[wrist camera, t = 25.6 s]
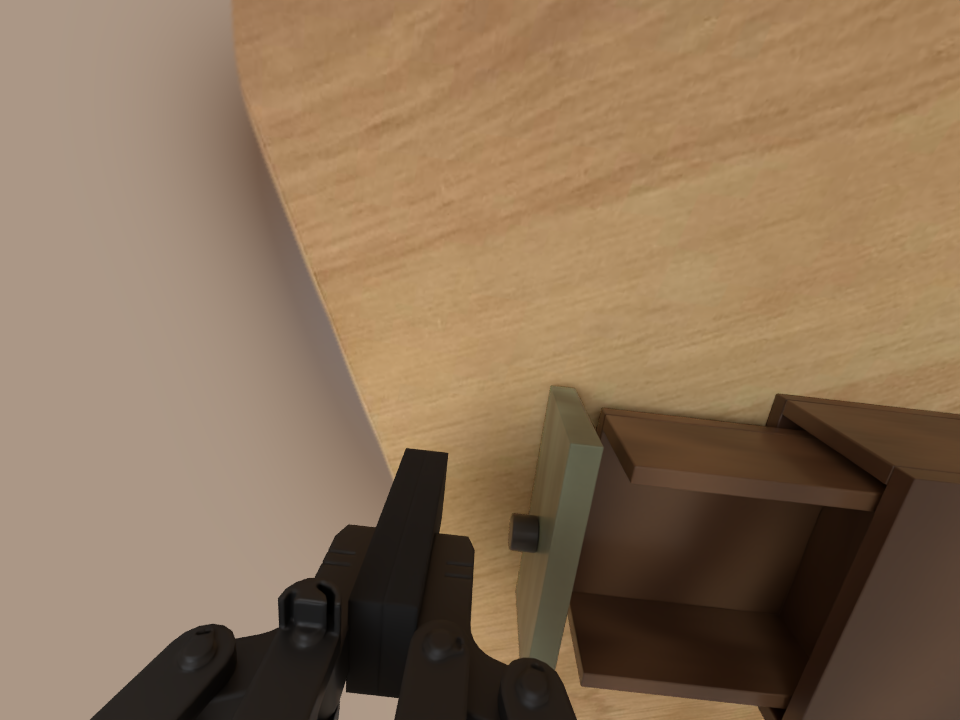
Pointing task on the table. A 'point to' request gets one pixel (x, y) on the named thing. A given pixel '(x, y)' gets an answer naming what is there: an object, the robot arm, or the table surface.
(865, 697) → the cabinet
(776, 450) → the drawer
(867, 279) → the table surface
